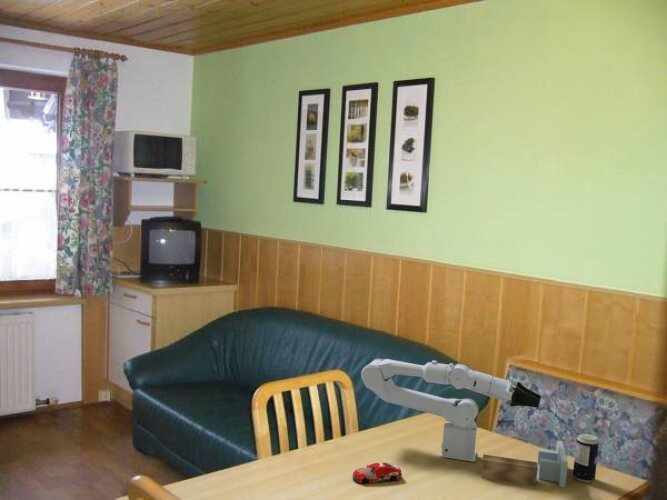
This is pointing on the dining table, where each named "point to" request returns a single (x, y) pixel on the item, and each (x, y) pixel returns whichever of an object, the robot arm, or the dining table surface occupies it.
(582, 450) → the beverage can
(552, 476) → the pale blue bench
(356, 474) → the race car
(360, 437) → the dining table surface
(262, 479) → the dining table surface
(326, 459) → the dining table surface
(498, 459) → the brown wooden block
